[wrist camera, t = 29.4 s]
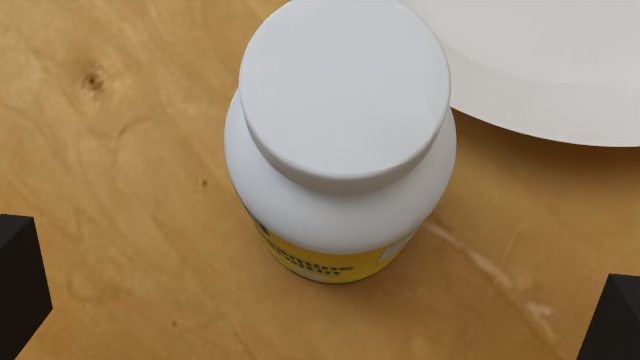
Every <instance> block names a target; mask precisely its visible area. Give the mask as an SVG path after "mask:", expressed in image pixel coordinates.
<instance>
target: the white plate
mask: <svg viewBox="0 0 640 360" xmlns="http://www.w3.org/2000/svg"><path fill="white" fill-rule="evenodd" d="M397 1H399V2H400V3H402V4H404V5H405V6H407V7H409V8H410V9H411V10H413V11H414V12H415V13H416V14H417V15H419V16H420V17H421V18H422V19H423V20H424V21H425V22H426V23H427V24H428V26H429V27H430V28H431V29H432V31H433V32H434V33H435V35H436V36H437V38H438V40H439V41H440V43H441V45H442V47H443V49H444V52H445V55H446V57H447V60H448V64H449V69H450V74H451V96H450V102H449V105H450V107H452V108H455V109H457V110H459V111H461V112H463V113H466V114H468V115H470V116H472V117H475V118H477V119H480V120H483V121H485V122H488V123H490V124H493V125H496V126H499V127H502V128H505V129H509V130H512V131H516V132H519V133H523V134H527V135H531V136H535V137H539V138H544V139H549V140H554V141H560V142H567V143H574V144H583V145H592V146H609V147H635V146H640V0H397Z"/></svg>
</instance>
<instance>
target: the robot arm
mask: <svg viewBox="0 0 640 360" xmlns="http://www.w3.org/2000/svg"><path fill="white" fill-rule="evenodd" d="M52 309H53V307H52V302H51V297H50V292H49V288H48V283H47V278H46V274H45V269H44V264H43V260H42V255H41V250H40V246H39V241H38V236H37V232H36V227H35V222H34V217H28V216H18V215H8V214H1V215H0V360H15V358H16V357H17V356H18V354H19V353H20V352H21V350H22V349H23V348H24V346H25V345H26V344H27V342H28V341H29V340H30V338H31V337H32V336H33V334H34V333H35V332H36V331H37V329H38V328H39V327H40V325H41V324H42V323H43V321H44V320H45V319H46V317H47V316H48V315H49V313H50V312H51V311H52ZM576 360H640V276H630V275H620V274H610V273H609V275H608V278H607V281H606V283H605V286H604V288H603V291H602V294H601V296H600V299H599V301H598V304H597V307H596V309H595V312H594V315H593V317H592V320H591V322H590V325H589V328H588V330H587V333H586V336H585V338H584V341H583V343H582V346H581V349H580V351H579V354H578V357H577V359H576Z"/></svg>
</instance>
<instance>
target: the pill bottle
mask: <svg viewBox="0 0 640 360" xmlns="http://www.w3.org/2000/svg"><path fill="white" fill-rule="evenodd" d="M450 96H451V74H450V69H449V64H448V60H447V57H446V55H445V52H444V49H443V47H442V45H441V43H440V41H439V40H438V38H437V36H436V35H435V33H434V32H433V31H432V29H431V28H430V27H429V26H428V24H427V23H426V22H425V21H424V20H423V19H422V18H421V17H420V16H419V15H417V14H416V13H415V12H414V11H413V10H411V9H410V8H409V7H407V6H405V5H404V4H402V3H400V2H399V1H397V0H292V1H290V2H288V3H286V4H285V5H283V6H282V7H281V8H279V9H278V10H276V11H275V12H274V13H273V14H272V15H270V16H269V17H268V18H267V19H266V20H265V21H264V22H263V23H262V24H261V25H260V27H259V28H258V29H257V30H256V32H255V33H254V35H253V36H252V38H251V40H250V42H249V43H248V45H247V48H246V51H245V53H244V56H243V59H242V63H241V67H240V72H239V87H238V89H237V90H236V92H235V95H234V97H233V99H232V102H231V104H230V107H229V110H228V114H227V118H226V122H225V131H224V150H225V158H226V164H227V168H228V171H229V174H230V177H231V181H232V183H233V185H234V188H235V190H236V193H237V194H238V196H239V197H240V199H241V201H242V203H243V204H244V206H245V208H246V210H247V211H248V213H249V215H250V217H251V218H252V220H253V222H254V225H255V226H256V228H257V230H258V232H259V234H260V236H261V238H262V240H263V242H264V243H265V245H266V246H267V248H268V249H269V251H270V252H271V253H272V255H273V256H274V257H275V258H276V259H277V260H278V261H279V262H280V263H281V264H282V265H283V266H285V267H286V268H287V269H289V270H290V271H292V272H293V273H295V274H297V275H298V276H300V277H303V278H305V279H308V280H311V281H314V282H318V283H324V284H348V283H352V282H357V281H360V280H363V279H365V278H368V277H370V276H372V275H374V274H376V273H377V272H379V271H380V270H382V269H383V268H385V267H386V266H387V265H388V264H390V263H391V262H392V261H393V260H394V259H395V257H396V256H397V255H398V254H399V253H400V252H401V250H402V249H403V248H404V246H405V245H406V244H407V243H408V242H409V240H410V239H411V238H412V236H413V235H414V234H415V233H416V231H417V230H418V229H419V228H420V226H421V225H422V224H423V222H424V221H425V220H426V219H427V217H428V216H429V215H430V213H431V212H432V211H433V209H434V208H435V206H436V205H437V203H438V202H439V200H440V199H441V197H442V195H443V193H444V191H445V190H446V187H447V185H448V183H449V180H450V177H451V175H452V171H453V167H454V163H455V157H456V145H457V144H456V129H455V123H454V118H453V114H452V111H451V108H450V105H449V102H450Z"/></svg>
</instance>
